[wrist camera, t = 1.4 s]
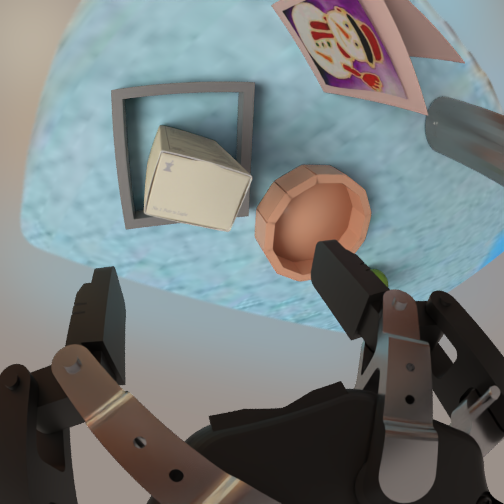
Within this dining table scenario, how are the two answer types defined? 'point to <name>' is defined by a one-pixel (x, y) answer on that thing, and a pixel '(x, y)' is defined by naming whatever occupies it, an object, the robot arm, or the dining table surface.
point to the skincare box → (193, 181)
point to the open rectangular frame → (119, 95)
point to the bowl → (310, 217)
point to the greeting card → (366, 47)
